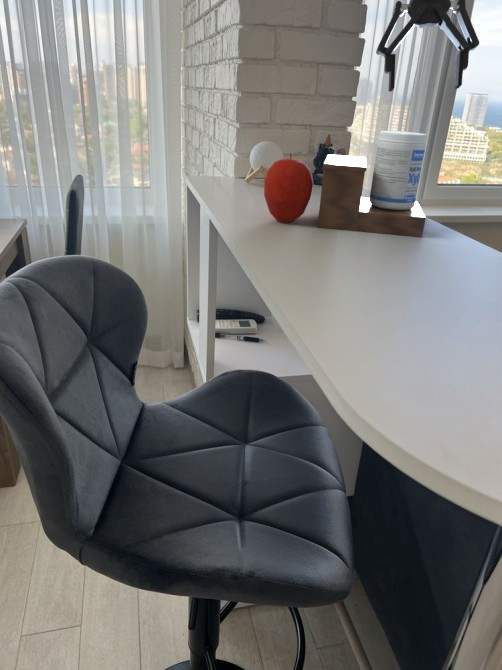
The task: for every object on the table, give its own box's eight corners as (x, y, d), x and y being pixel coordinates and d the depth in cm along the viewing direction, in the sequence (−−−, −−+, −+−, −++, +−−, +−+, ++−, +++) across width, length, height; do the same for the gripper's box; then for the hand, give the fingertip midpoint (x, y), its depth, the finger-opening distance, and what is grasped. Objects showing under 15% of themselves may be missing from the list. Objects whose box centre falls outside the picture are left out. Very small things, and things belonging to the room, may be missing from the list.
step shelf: (414, 219, 116) (425, 161, 110) (421, 237, 101) (435, 172, 96) (321, 210, 119) (327, 154, 113) (316, 227, 104) (323, 163, 99)
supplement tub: (413, 213, 102) (428, 136, 96) (366, 208, 105) (377, 132, 98) (414, 204, 111) (428, 132, 104) (370, 199, 113) (381, 129, 106)
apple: (314, 227, 104) (321, 156, 98) (266, 226, 103) (271, 154, 97) (303, 215, 113) (309, 150, 107) (259, 214, 112) (262, 148, 106)
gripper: (488, -20, 104) (480, 90, 108) (365, -13, 107) (362, 95, 111) (502, -39, 97) (492, 80, 101) (369, -30, 100) (366, 85, 104)
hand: (424, 88), depth 106 cm, fingers open, 13 cm apart
